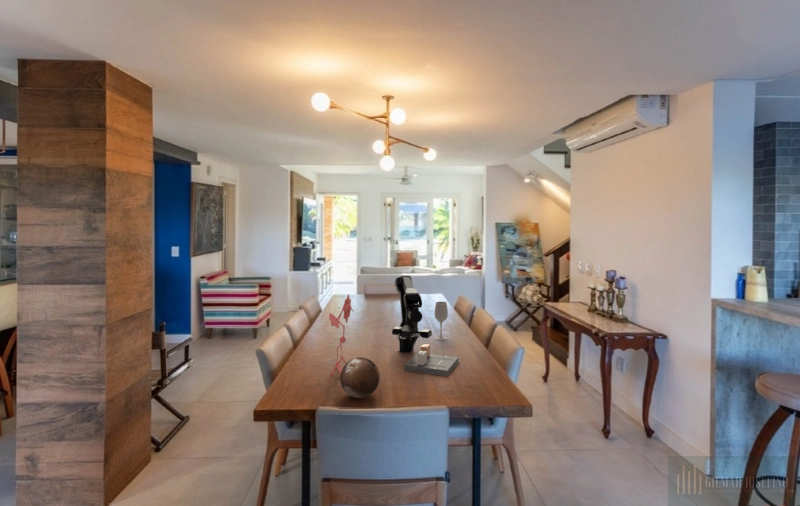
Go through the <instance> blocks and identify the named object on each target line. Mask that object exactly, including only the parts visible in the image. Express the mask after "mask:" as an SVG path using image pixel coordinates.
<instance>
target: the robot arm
mask: <svg viewBox="0 0 800 506" xmlns="http://www.w3.org/2000/svg"><path fill="white" fill-rule="evenodd" d="M412 279H413V278H412V277H411V275H408V274H402V275H400V276H399V277H396V278H395V280H394V287H395V289H396V292H397V293H398V294H399V301H400V304H399V305H400V315H401V321H400V323H399V326H395V327H394V328H393V329H392V330H391V335H395V336H397V340H398V341H399V342H398V343H399V347H398V348H399V349H398V350H397V351H398V352H399V353H408V354H410V353H411V352H413V351H414V350H415V349H414V348H415V344H416V342H417V340H418V339H419V338H420V337H421V338H423V339H429V338H431V336H432V335H433V333H432V330H431V329H425V328H424V329H422V330H419V327H418V326H419V322H421V321H422V320H423V314H422V312H421V311H420V310H419V309H420V308H422V306H423V300H422V296H421V294H419V291H418V290H417V289H415V288H414V285H413V280H412Z"/></svg>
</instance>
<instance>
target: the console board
mask: <svg viewBox="0 0 800 506" xmlns="http://www.w3.org/2000/svg"><path fill="white" fill-rule="evenodd" d="M459 359H460V358H459V356H450V355H443V354H442V355H441V354H433V353H430V355H429V356H428V357H427V362H426V363H425V364H424V365H417V354H415V355H414V356H413V357H412V358H410V360H409V361H407V362H405V364H404V366H403V367H404V371H406V370H407V371H408V372H413V371H415V373H421V372H422V373H421V374H427V375H429V374H430V375H437V376H442V377H443V376H444V377H448V376H449V374H450V373H451V372H452V371H453V370H454V369H455V367H456V366H457V365H458V364H459Z"/></svg>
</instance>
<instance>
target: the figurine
mask: <svg viewBox="0 0 800 506" xmlns="http://www.w3.org/2000/svg"><path fill="white" fill-rule="evenodd" d="M351 311H352V312H355V311H354V309H353V308H352V299H351V298H350V294H349V293H347V296H346V298H345V299H344V303H343V306H342V309H341V311H340V313H339V315H338V317H337V316H335V315H334V314H332V312H331V313H330V312H329V314H328V315H329V316H328V318H329V319H328V320H329V321H330V324H331V327H335V328H336V329H340V325H341V326H342V327H343V328H342V329H343V332H342V334H343V335H342V336H340V338H339V342H340V344H339V345H338V347H336V360H337V361H335V363H334V364H335V365H334V366H335V367H334V369H333V371H332V372H331V374H330V376H333V374H334V373H335V370H337V371H338V373H339V374H340V375H341V371H342V369H343V367H342V366H341V364H340V363H341V362H343V363H344V365H345V364H346V363H347V362H346V361H345V359H344V355H343V354H341V355H340V359H339V353H338V352H339V350H338V349H339V347H340V351H341V353H343V350H342V349H343V347H342V344H344V343H345V342H346V341H347V339H346V337H345V331H346V330H345V327H346V326H345V325H344V324H343V323H342V322H341V321H340V319H341V317H342V314H343V319H344V320H345V323H346V324H347V323H348V320H349V318H350V316H351ZM336 368H337V369H336ZM327 380H328V381H330V378H327Z"/></svg>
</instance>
